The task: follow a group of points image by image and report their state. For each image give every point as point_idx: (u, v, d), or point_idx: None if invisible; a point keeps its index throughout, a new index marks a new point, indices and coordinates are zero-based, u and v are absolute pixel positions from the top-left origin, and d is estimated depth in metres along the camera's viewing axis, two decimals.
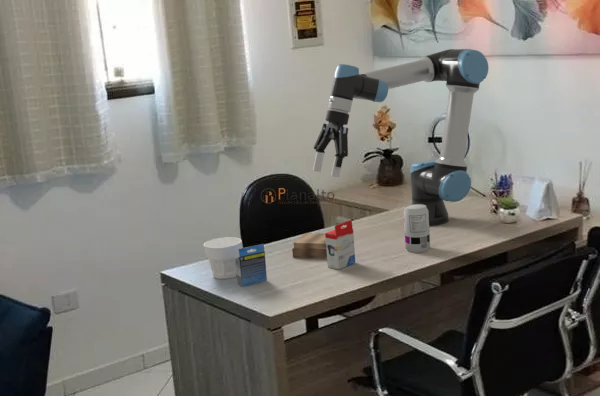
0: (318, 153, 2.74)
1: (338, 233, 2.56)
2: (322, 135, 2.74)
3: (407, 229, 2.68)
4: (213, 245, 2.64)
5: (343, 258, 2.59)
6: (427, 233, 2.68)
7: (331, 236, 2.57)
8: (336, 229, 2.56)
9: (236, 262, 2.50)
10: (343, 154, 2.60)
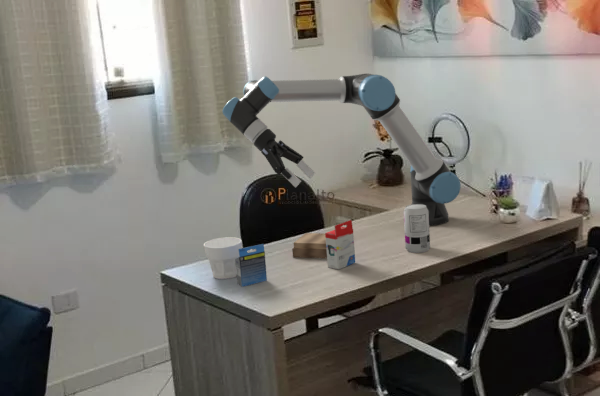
0: (298, 165, 2.74)
1: (338, 233, 2.56)
2: None
3: (407, 229, 2.68)
4: (213, 245, 2.64)
5: (343, 258, 2.59)
6: (427, 233, 2.68)
7: (331, 236, 2.57)
8: (336, 229, 2.56)
9: (236, 262, 2.50)
10: (277, 170, 2.59)
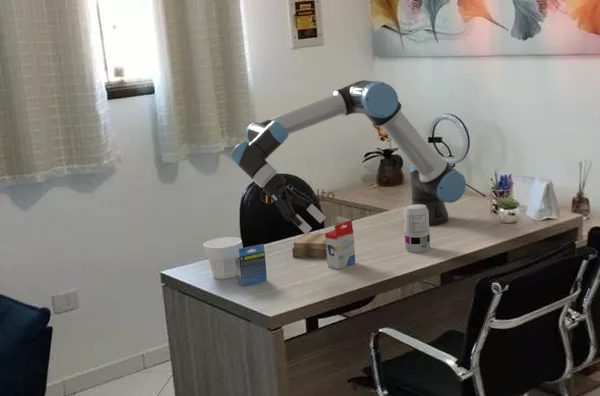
0: (308, 209, 2.68)
1: (338, 233, 2.56)
2: None
3: (407, 229, 2.68)
4: (213, 245, 2.64)
5: (343, 258, 2.59)
6: (427, 233, 2.68)
7: (331, 236, 2.57)
8: (336, 229, 2.56)
9: (236, 262, 2.50)
10: (287, 217, 2.53)
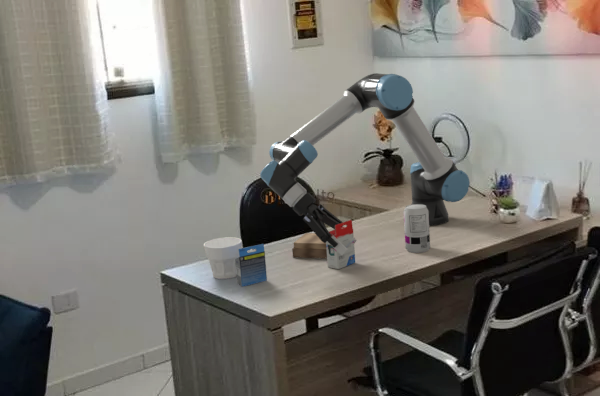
0: None
1: (338, 233, 2.56)
2: None
3: (407, 229, 2.68)
4: (213, 245, 2.64)
5: (343, 258, 2.59)
6: (427, 233, 2.68)
7: (331, 236, 2.57)
8: (336, 229, 2.56)
9: (236, 262, 2.50)
10: (323, 239, 2.53)
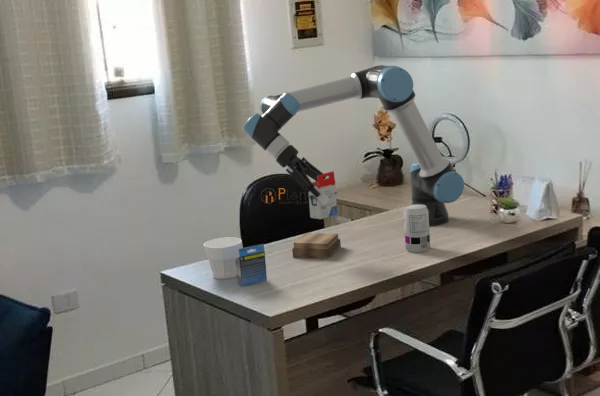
0: None
1: (320, 183, 2.62)
2: None
3: (407, 229, 2.68)
4: (213, 245, 2.64)
5: (325, 209, 2.65)
6: (427, 233, 2.68)
7: None
8: (318, 179, 2.61)
9: (236, 262, 2.50)
10: (306, 189, 2.59)
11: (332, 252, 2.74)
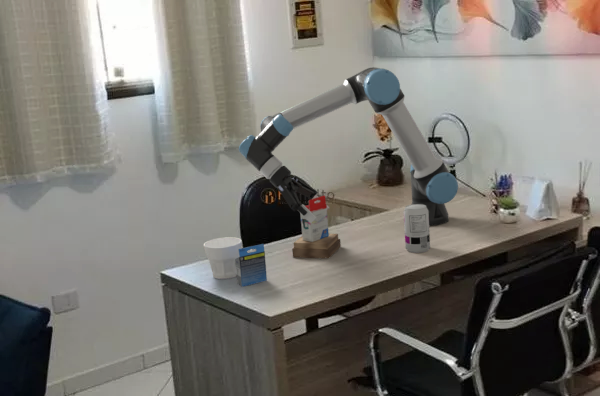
0: None
1: (312, 207, 2.71)
2: None
3: (407, 229, 2.68)
4: (213, 245, 2.64)
5: (317, 232, 2.74)
6: (427, 233, 2.68)
7: None
8: (310, 204, 2.71)
9: (236, 262, 2.50)
10: (293, 207, 2.67)
11: (332, 252, 2.74)
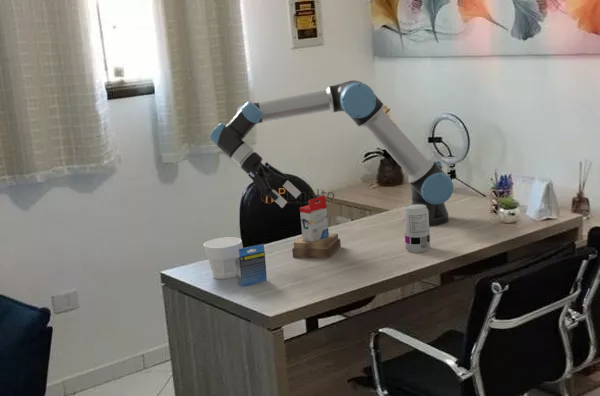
0: (284, 185, 2.87)
1: (312, 207, 2.72)
2: None
3: (407, 229, 2.68)
4: (213, 245, 2.64)
5: (317, 232, 2.74)
6: (427, 233, 2.68)
7: (305, 211, 2.72)
8: (310, 204, 2.71)
9: (236, 262, 2.50)
10: (263, 192, 2.72)
11: (332, 252, 2.74)
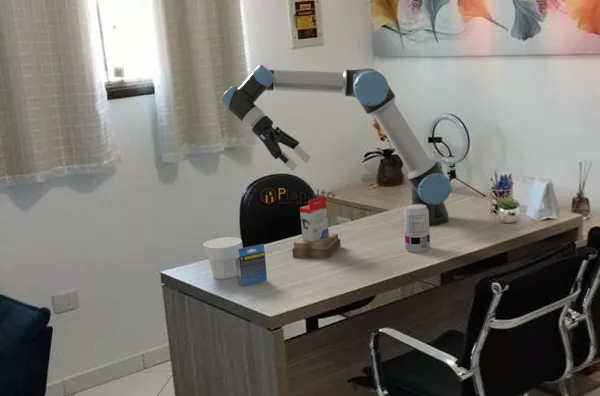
0: (294, 150, 2.88)
1: (312, 207, 2.71)
2: None
3: (407, 229, 2.68)
4: (213, 245, 2.64)
5: (317, 232, 2.74)
6: (427, 233, 2.68)
7: (305, 211, 2.72)
8: (310, 204, 2.71)
9: (236, 262, 2.50)
10: (274, 154, 2.73)
11: (332, 252, 2.74)
